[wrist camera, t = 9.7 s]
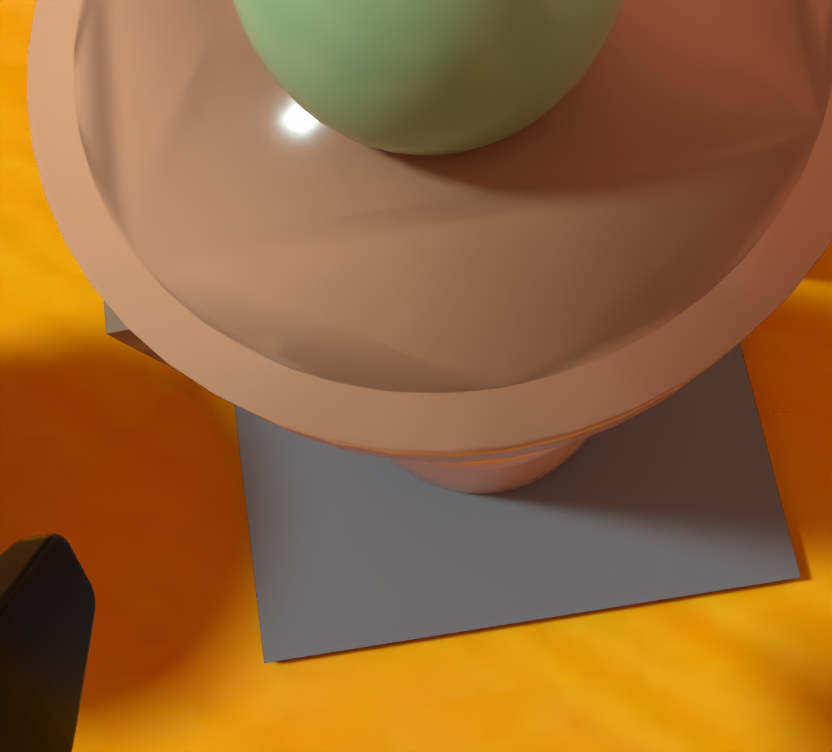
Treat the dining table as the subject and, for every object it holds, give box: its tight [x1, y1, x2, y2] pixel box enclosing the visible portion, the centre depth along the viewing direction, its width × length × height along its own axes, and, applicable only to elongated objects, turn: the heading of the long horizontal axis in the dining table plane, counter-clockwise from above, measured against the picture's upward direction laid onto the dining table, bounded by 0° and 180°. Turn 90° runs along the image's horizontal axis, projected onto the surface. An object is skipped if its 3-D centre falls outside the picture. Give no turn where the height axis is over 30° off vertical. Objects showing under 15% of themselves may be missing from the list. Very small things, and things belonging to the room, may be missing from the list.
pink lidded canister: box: [27, 0, 832, 494], centre depth 12 cm, size 7×7×15 cm
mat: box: [234, 343, 800, 663], centre depth 19 cm, size 12×12×1 cm
